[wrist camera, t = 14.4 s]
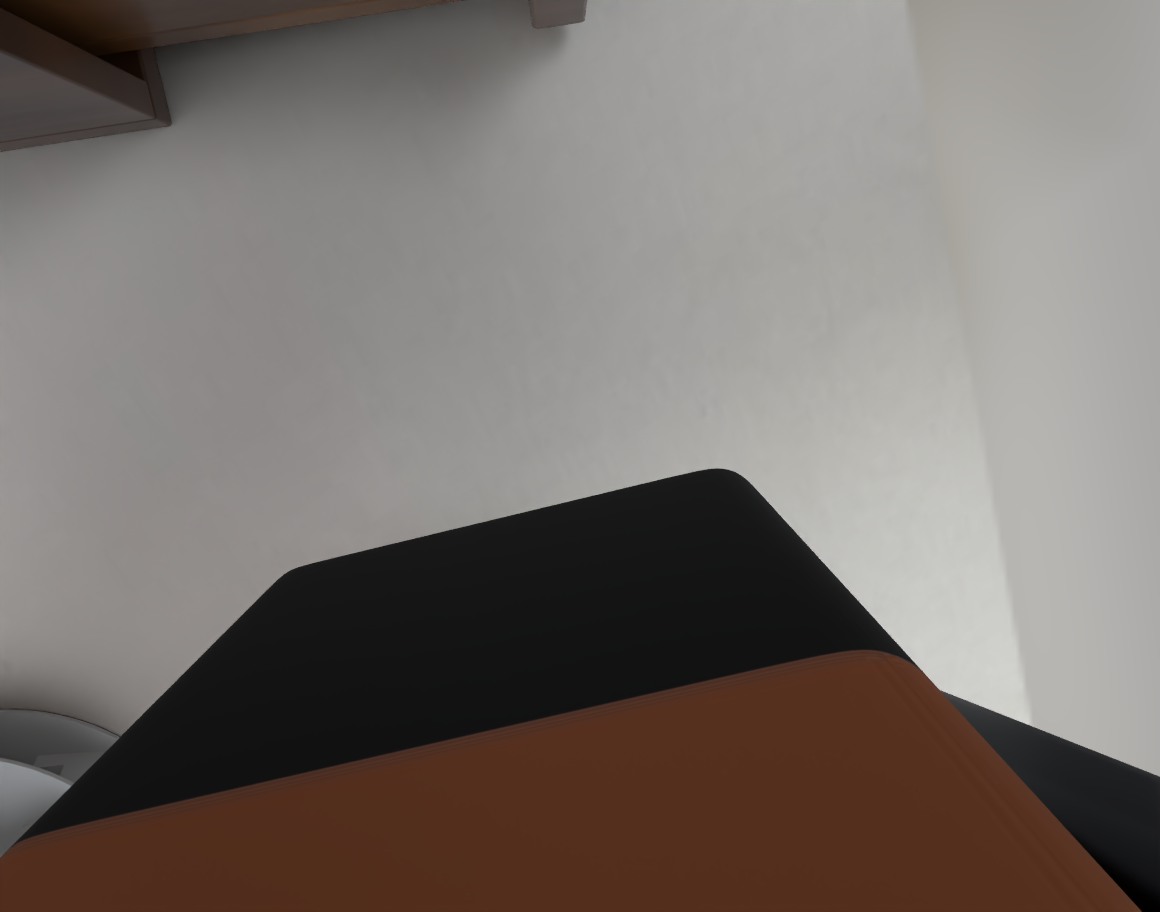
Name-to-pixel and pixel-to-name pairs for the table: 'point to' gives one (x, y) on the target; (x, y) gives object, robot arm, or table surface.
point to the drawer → (218, 18)
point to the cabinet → (71, 89)
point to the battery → (558, 741)
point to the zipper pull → (41, 764)
